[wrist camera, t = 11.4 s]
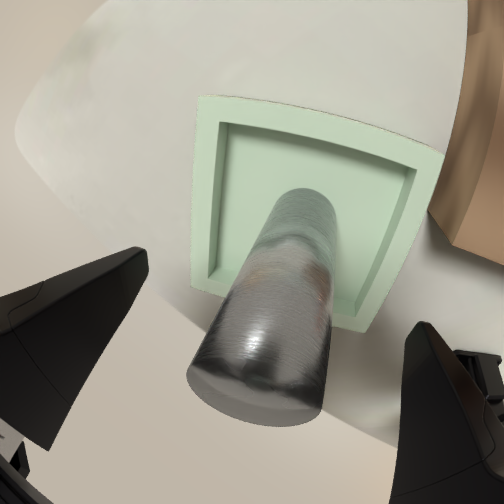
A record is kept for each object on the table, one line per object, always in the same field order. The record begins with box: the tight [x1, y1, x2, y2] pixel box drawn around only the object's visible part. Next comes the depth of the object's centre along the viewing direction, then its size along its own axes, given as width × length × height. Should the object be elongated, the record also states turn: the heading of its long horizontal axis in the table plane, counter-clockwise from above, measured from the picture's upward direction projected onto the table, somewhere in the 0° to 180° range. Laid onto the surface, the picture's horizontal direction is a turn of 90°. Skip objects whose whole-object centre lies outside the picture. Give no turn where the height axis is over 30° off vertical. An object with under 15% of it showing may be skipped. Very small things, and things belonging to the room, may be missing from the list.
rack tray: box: [191, 95, 445, 333], centre depth 13 cm, size 10×10×2 cm
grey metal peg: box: [186, 188, 336, 427], centre depth 9 cm, size 3×3×9 cm
